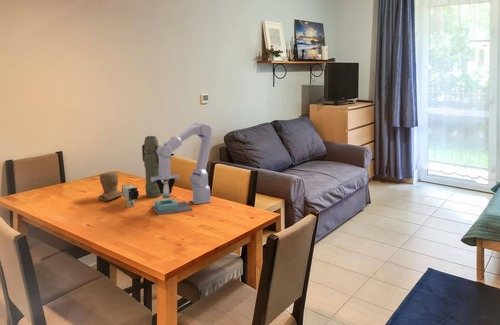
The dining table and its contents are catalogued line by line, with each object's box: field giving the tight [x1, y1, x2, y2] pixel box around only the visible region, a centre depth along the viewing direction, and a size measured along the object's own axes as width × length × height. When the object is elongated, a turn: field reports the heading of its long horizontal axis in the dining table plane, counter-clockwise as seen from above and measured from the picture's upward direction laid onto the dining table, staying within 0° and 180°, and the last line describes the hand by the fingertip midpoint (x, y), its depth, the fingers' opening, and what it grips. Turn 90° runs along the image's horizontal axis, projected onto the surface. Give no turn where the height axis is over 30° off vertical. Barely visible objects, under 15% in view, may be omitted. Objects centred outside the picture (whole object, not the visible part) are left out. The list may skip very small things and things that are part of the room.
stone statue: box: [141, 135, 162, 199], centre depth 245 cm, size 9×12×35 cm
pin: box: [161, 181, 171, 199], centre depth 222 cm, size 4×4×8 cm
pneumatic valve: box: [121, 183, 139, 208], centre depth 230 cm, size 6×12×12 cm, turn 40°
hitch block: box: [151, 198, 193, 216], centre depth 225 cm, size 18×14×4 cm
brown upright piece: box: [97, 171, 123, 202], centre depth 243 cm, size 15×12×15 cm
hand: (165, 193), depth 223 cm, fingers closed on pin, 4 cm apart
